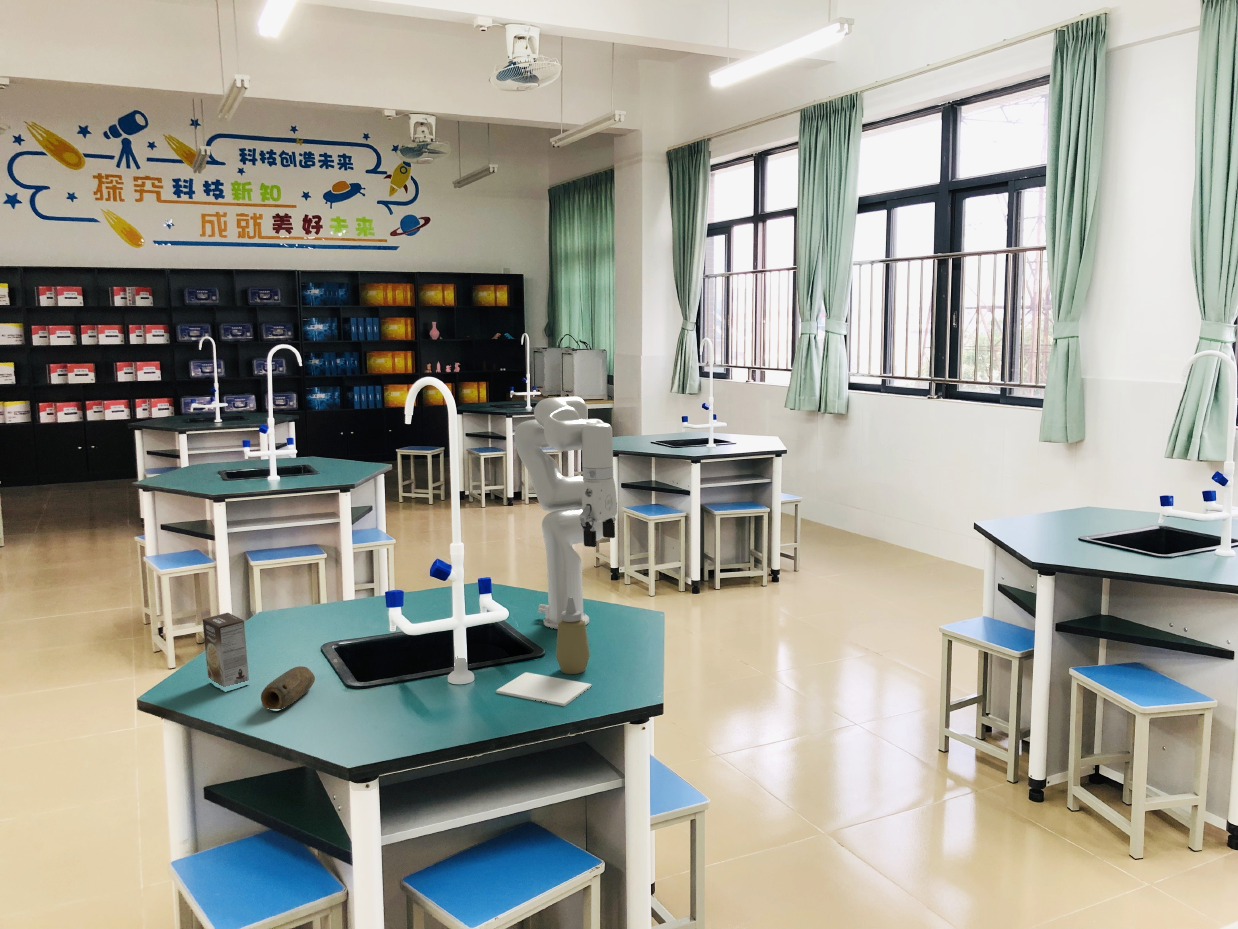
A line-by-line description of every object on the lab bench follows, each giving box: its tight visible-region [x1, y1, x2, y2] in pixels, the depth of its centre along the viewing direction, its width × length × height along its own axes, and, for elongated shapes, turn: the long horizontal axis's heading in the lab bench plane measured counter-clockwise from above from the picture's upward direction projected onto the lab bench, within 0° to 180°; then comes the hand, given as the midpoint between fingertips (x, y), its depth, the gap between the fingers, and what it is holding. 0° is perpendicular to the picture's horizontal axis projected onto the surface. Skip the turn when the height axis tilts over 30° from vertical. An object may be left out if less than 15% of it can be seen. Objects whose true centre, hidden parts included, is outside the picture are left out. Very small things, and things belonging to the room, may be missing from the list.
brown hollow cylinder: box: [260, 665, 316, 709], centre depth 212 cm, size 15×7×7 cm, turn 176°
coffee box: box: [201, 612, 250, 687], centre depth 222 cm, size 9×6×16 cm
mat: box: [495, 671, 593, 707], centre depth 214 cm, size 18×12×1 cm, turn 62°
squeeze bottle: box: [555, 597, 591, 675], centre depth 224 cm, size 8×8×18 cm
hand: (599, 541), depth 233 cm, fingers open, 9 cm apart
